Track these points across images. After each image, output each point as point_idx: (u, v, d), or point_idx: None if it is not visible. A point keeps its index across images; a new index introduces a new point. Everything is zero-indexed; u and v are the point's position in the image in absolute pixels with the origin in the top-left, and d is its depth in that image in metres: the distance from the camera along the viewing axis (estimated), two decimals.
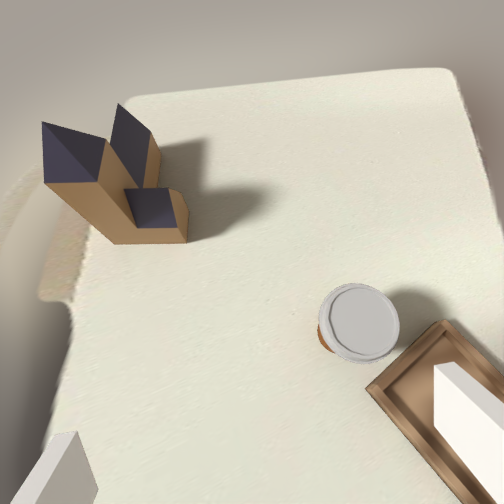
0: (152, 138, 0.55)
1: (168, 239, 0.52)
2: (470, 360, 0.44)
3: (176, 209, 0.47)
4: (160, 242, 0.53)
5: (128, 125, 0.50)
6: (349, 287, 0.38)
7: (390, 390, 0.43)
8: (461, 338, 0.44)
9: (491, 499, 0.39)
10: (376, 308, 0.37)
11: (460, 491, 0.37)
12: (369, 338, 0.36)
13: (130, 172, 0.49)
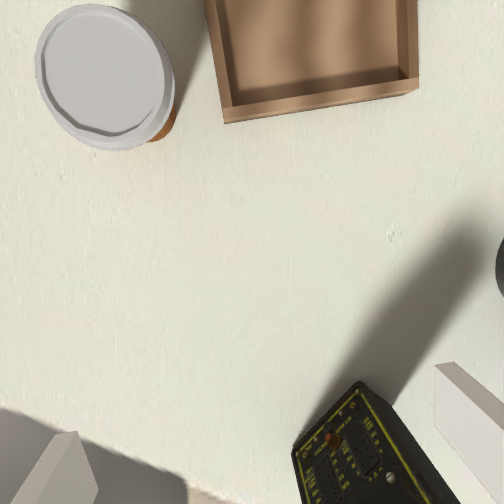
0: None
1: None
2: None
3: None
4: None
5: None
6: (38, 58, 0.21)
7: (240, 94, 0.32)
8: None
9: (391, 64, 0.33)
10: (94, 37, 0.21)
11: (365, 94, 0.31)
12: (134, 84, 0.22)
13: None
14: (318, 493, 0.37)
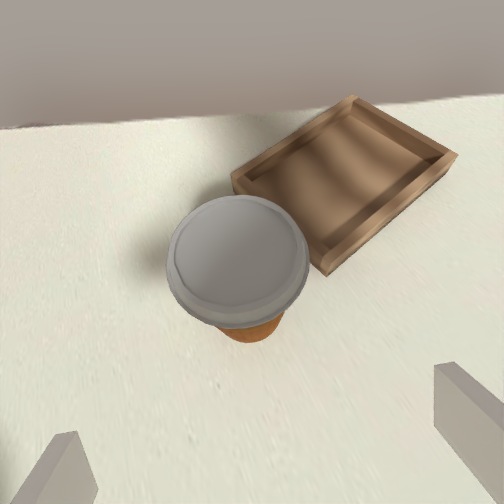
0: None
1: None
2: (278, 161, 0.37)
3: None
4: None
5: None
6: (172, 265, 0.19)
7: (324, 244, 0.32)
8: (254, 162, 0.35)
9: (418, 161, 0.36)
10: (214, 225, 0.21)
11: (425, 180, 0.33)
12: (266, 239, 0.20)
13: None
14: None
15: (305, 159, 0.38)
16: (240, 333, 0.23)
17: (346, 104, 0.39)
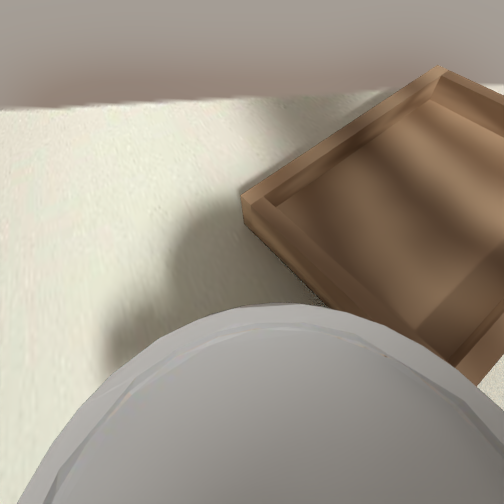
0: None
1: None
2: (320, 172, 0.22)
3: None
4: None
5: None
6: None
7: (423, 338, 0.16)
8: (282, 174, 0.20)
9: None
10: (197, 435, 0.05)
11: None
12: None
13: None
14: None
15: (366, 169, 0.22)
16: None
17: (430, 80, 0.24)
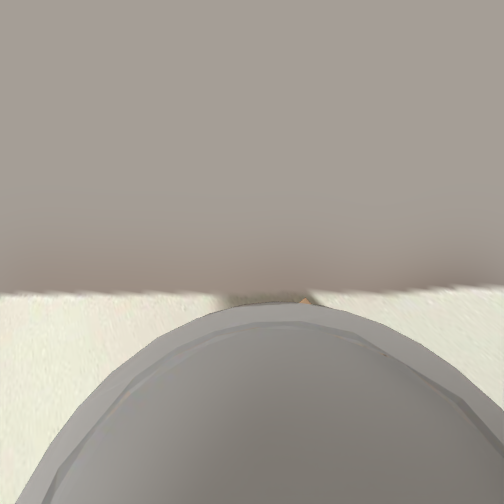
0: None
1: None
2: None
3: None
4: None
5: None
6: None
7: None
8: None
9: None
10: (196, 434, 0.05)
11: None
12: None
13: None
14: None
15: None
16: None
17: None
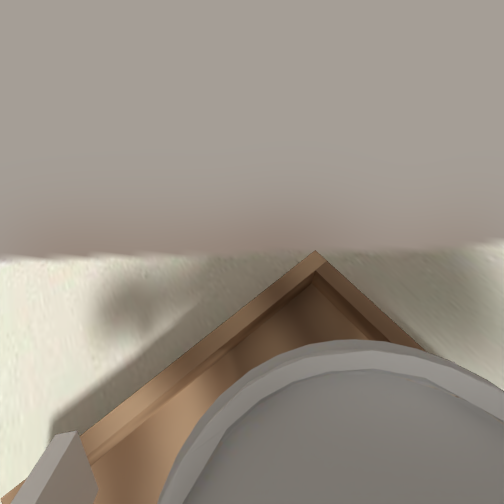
0: None
1: None
2: (144, 419, 0.17)
3: None
4: None
5: None
6: None
7: None
8: None
9: None
10: (288, 479, 0.06)
11: None
12: None
13: None
14: None
15: (205, 411, 0.17)
16: None
17: (301, 278, 0.19)
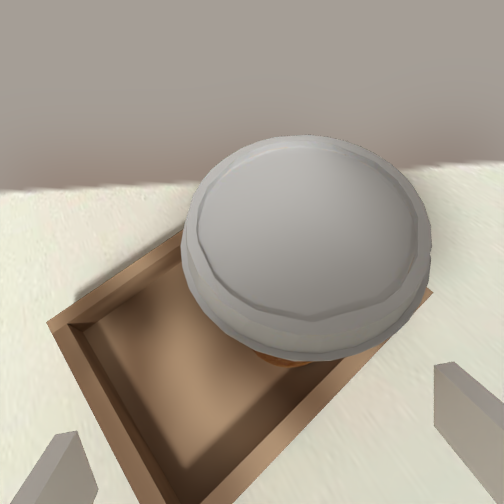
0: None
1: None
2: (146, 284, 0.23)
3: None
4: None
5: None
6: (194, 244, 0.11)
7: (190, 473, 0.17)
8: (92, 297, 0.21)
9: None
10: (262, 181, 0.12)
11: (374, 349, 0.18)
12: (355, 204, 0.12)
13: None
14: None
15: None
16: None
17: None
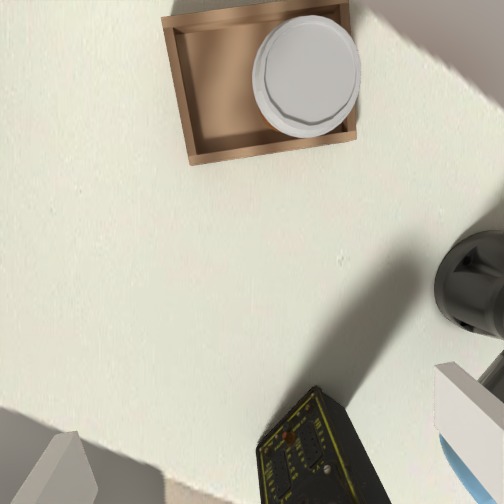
0: None
1: None
2: (222, 27, 0.34)
3: None
4: None
5: None
6: (264, 58, 0.25)
7: (205, 142, 0.38)
8: (191, 18, 0.33)
9: None
10: (308, 42, 0.25)
11: (310, 144, 0.37)
12: (333, 82, 0.26)
13: None
14: (273, 483, 0.43)
15: (249, 42, 0.35)
16: None
17: (329, 3, 0.33)
